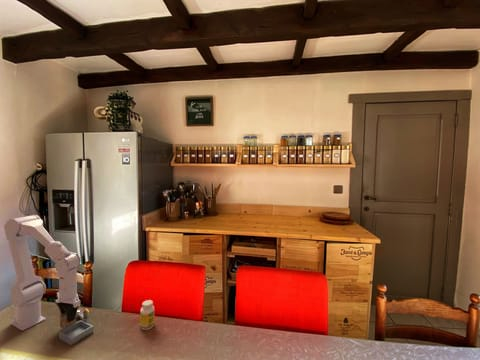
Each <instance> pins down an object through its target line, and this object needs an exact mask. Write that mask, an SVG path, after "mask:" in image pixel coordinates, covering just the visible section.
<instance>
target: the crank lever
mask: <svg viewBox="0 0 480 360" xmlns="http://www.w3.org/2000/svg"><path fill="white" fill-rule="evenodd" d="M76 319H80V320H82V321H84V322H86V321H87V320H89V319H90V309H88V308H87V307H84V308H83V307H78V309H77V312H76Z"/></svg>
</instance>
